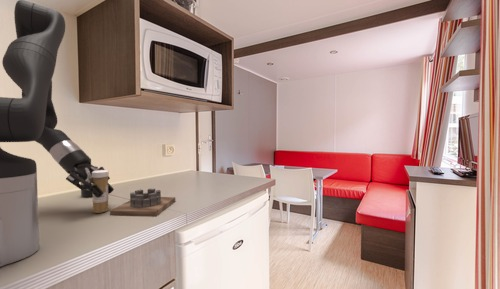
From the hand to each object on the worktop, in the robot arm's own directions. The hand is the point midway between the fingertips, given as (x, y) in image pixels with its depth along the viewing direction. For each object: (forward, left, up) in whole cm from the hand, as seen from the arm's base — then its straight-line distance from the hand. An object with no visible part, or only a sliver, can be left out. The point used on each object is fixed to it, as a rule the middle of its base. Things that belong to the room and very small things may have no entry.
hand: (106, 193), depth 73 cm
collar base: (+5, -11, -6) cm, 13 cm away
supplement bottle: (+18, +20, -6) cm, 28 cm away
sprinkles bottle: (0, +2, -6) cm, 6 cm away
